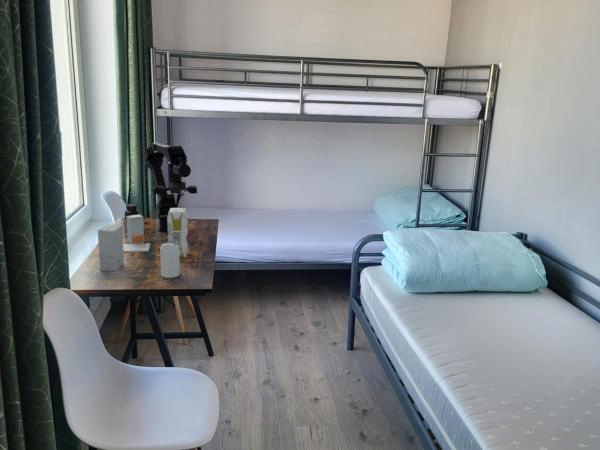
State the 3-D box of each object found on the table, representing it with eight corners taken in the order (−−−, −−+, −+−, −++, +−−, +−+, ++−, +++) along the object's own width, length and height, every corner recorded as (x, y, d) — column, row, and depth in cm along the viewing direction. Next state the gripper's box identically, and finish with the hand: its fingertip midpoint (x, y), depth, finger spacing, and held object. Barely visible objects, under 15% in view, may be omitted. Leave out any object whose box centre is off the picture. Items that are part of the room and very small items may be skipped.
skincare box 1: (108, 263, 192) (105, 223, 188) (125, 264, 192) (123, 224, 188) (99, 270, 184) (96, 229, 180) (117, 271, 184) (114, 230, 180)
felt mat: (120, 245, 214) (120, 244, 214) (150, 244, 217) (149, 243, 217) (118, 252, 205) (118, 251, 205) (148, 251, 208) (148, 250, 207)
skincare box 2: (131, 245, 215) (129, 218, 212) (127, 242, 218) (125, 216, 215) (144, 242, 219) (143, 216, 216) (140, 240, 222) (139, 214, 219)
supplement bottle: (127, 227, 242) (125, 203, 239) (141, 227, 243) (140, 203, 240) (123, 231, 236) (122, 206, 233) (138, 231, 236) (137, 206, 233)
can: (162, 279, 177) (161, 246, 174) (160, 273, 183) (158, 241, 180) (181, 277, 180) (180, 245, 177) (178, 271, 186) (177, 240, 183)
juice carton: (168, 259, 199) (166, 212, 194) (170, 252, 207) (168, 207, 202) (187, 258, 200) (186, 212, 195) (189, 252, 208) (187, 207, 204)
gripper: (152, 177, 214) (154, 213, 218) (197, 176, 218) (198, 212, 222) (153, 173, 224) (154, 207, 228) (196, 172, 229) (196, 206, 233)
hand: (176, 208), depth 228 cm, fingers closed
